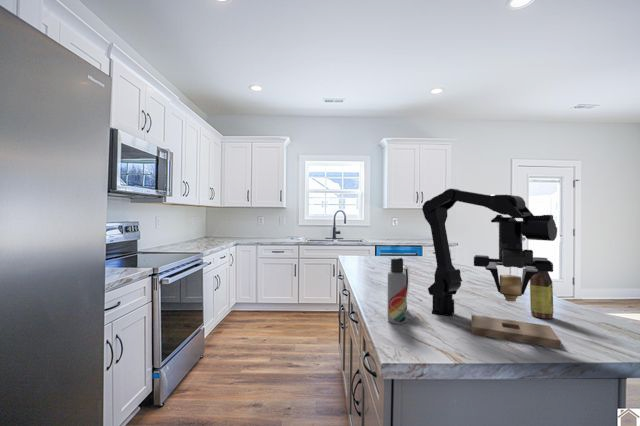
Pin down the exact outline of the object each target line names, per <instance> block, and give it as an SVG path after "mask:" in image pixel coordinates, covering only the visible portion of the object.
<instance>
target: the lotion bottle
mask: <svg viewBox="0 0 640 426" xmlns="http://www.w3.org/2000/svg"><path fill="white" fill-rule="evenodd" d="M390 267H391V272H390V271H389V272H387V322H389V323H391V324H394V325H395V324H396V325H403V324H406V322H407V311H406V273H403V267H404V259H403V258H402V257H396V258H391V259H390Z"/></svg>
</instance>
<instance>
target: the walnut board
mask: <svg viewBox="0 0 640 426" xmlns="http://www.w3.org/2000/svg"><path fill="white" fill-rule="evenodd" d="M470 317H471V324H470V325H471V326H470V327H471V330H470V331H471V332H470V333H471V334H473V335H478V336H482V337H488V338H489V337H490V338H494V339H495V338H496V339H502V340H508V341H513V342H520V343H527V344H532V345H538V346H544V347H549V348H550V347H551V348H554V349H555V348H556V349H561V347H562V346H561V343H562V342H561V341H562V340H561V339H560V337H559V336H558V335H557V334H556V332H555V331H554V330H553V328H552V327H551V326H550V325H546V324H540V323H534V322H533V323H532V322H527V321H518V320H511V319H506V318H505V319H504V318H499V317H498V318H497V317H491V316H482V315H475V314H471V316H470Z"/></svg>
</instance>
